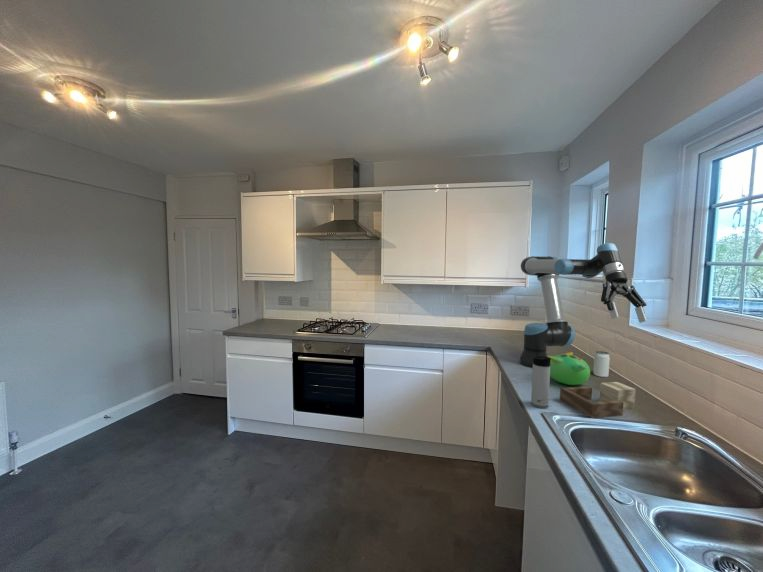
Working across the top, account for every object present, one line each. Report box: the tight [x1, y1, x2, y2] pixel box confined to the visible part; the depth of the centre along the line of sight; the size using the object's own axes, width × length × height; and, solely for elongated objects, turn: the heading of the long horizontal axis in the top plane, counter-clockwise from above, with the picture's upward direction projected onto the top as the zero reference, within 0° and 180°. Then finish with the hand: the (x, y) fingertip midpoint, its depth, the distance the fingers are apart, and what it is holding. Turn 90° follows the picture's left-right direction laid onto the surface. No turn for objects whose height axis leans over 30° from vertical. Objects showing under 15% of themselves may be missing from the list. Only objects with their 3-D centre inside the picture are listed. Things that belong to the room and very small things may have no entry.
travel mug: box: [530, 356, 551, 409], centre depth 125 cm, size 6×7×20 cm
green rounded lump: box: [547, 351, 591, 386], centre depth 149 cm, size 18×17×15 cm
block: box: [599, 381, 636, 411], centre depth 127 cm, size 8×8×8 cm
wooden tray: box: [559, 385, 624, 419], centre depth 125 cm, size 14×16×5 cm
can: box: [593, 350, 611, 378], centre depth 162 cm, size 6×6×12 cm
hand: (629, 319), depth 130 cm, fingers open, 13 cm apart
